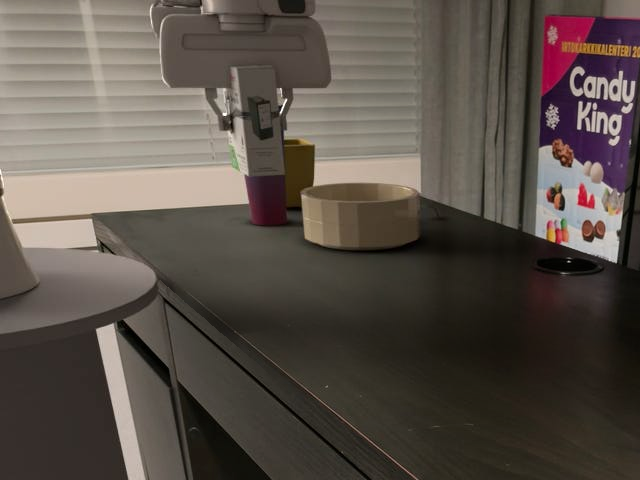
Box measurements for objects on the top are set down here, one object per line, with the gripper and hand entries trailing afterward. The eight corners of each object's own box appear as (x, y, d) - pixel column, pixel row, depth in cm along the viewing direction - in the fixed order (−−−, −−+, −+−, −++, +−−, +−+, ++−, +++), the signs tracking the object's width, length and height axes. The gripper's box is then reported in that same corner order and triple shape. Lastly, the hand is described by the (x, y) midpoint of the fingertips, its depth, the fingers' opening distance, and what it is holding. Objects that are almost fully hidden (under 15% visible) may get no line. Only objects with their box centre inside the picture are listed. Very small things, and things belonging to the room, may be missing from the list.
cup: (238, 225, 132) (224, 105, 124) (256, 216, 138) (243, 101, 129) (283, 227, 131) (272, 107, 123) (299, 219, 137) (289, 103, 128)
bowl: (308, 254, 118) (304, 203, 114) (301, 230, 130) (297, 183, 127) (428, 250, 121) (427, 201, 117) (410, 227, 133) (408, 181, 130)
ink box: (230, 167, 120) (217, 61, 114) (267, 165, 122) (256, 61, 115) (247, 177, 114) (235, 65, 107) (286, 175, 116) (276, 65, 109)
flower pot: (252, 202, 147) (245, 139, 142) (306, 199, 150) (300, 137, 145) (265, 212, 141) (258, 146, 135) (320, 209, 144) (315, 144, 138)
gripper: (144, -6, 103) (166, 134, 111) (327, -2, 107) (336, 132, 115) (148, -6, 108) (169, 128, 116) (323, -2, 112) (331, 127, 120)
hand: (253, 130), depth 116 cm, fingers closed on ink box, 5 cm apart
